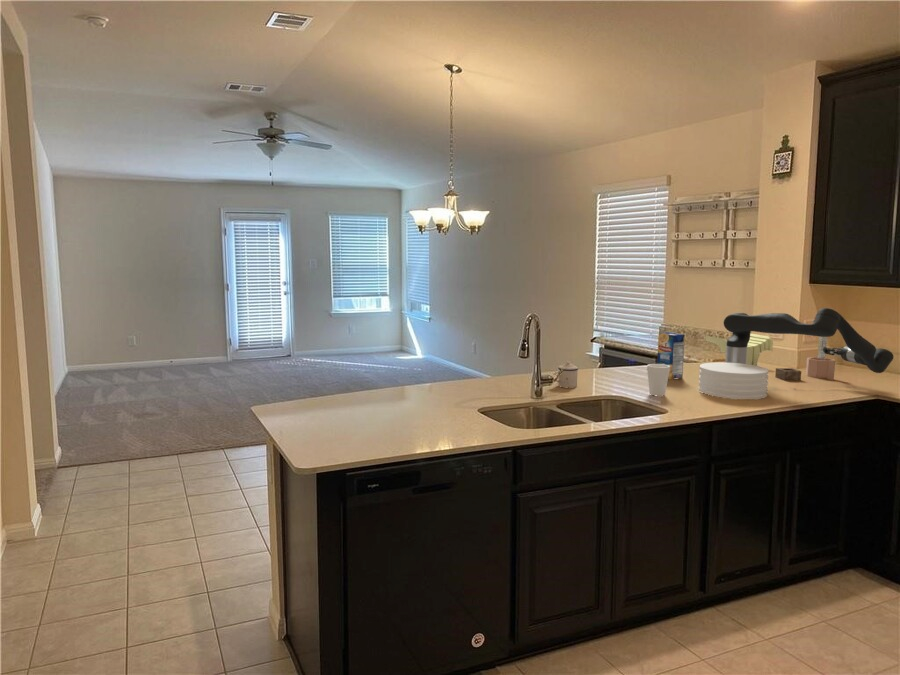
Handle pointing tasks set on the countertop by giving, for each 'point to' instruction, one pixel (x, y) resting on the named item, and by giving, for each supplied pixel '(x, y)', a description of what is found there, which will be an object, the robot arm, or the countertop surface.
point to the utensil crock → (820, 368)
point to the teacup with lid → (567, 375)
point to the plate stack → (733, 380)
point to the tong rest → (788, 374)
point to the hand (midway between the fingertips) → (832, 349)
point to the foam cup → (658, 378)
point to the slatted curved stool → (753, 348)
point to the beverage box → (671, 352)
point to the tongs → (820, 348)
